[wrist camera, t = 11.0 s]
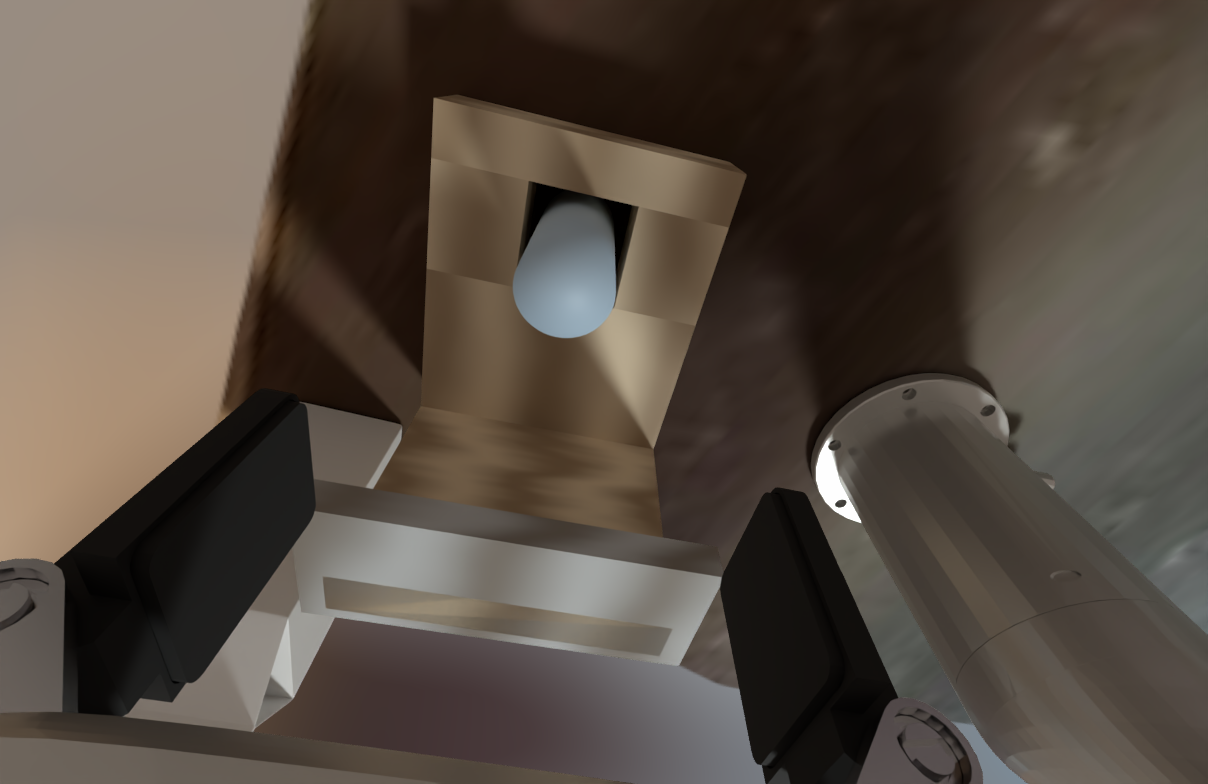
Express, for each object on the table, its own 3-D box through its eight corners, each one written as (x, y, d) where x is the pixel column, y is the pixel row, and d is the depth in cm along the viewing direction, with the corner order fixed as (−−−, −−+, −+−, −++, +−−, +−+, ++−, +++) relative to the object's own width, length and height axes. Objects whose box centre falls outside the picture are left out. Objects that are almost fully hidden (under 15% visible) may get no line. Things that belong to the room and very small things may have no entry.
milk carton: (297, 398, 35) (22, 680, 19) (404, 423, 36) (231, 711, 20) (299, 476, 38) (72, 769, 22) (397, 496, 39) (246, 792, 23)
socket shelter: (748, 166, 27) (888, 261, 13) (653, 444, 36) (678, 665, 23) (437, 89, 25) (231, 107, 12) (423, 401, 35) (301, 612, 21)
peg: (621, 197, 28) (626, 252, 19) (605, 269, 30) (603, 346, 21) (547, 180, 27) (519, 228, 19) (536, 254, 29) (507, 327, 21)
